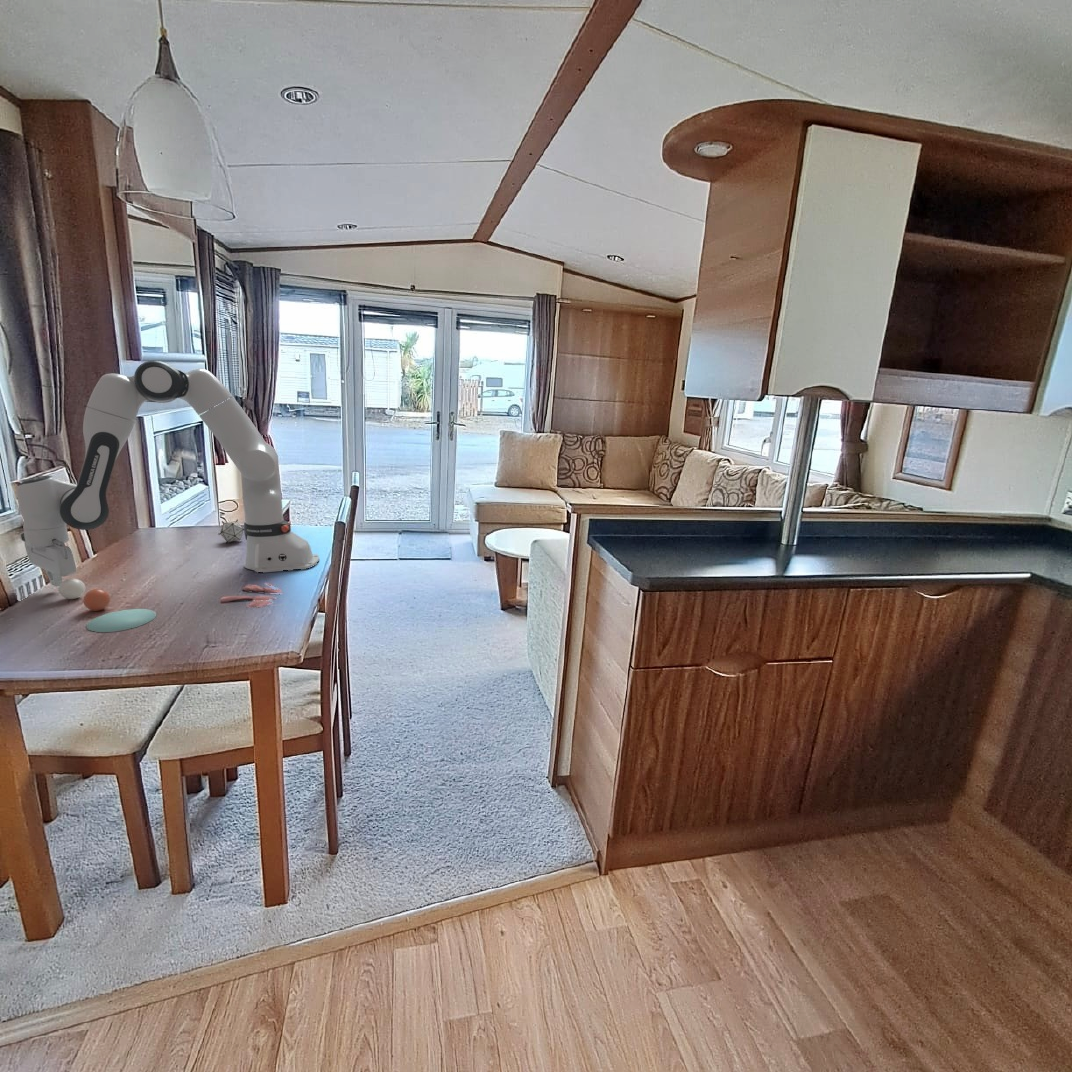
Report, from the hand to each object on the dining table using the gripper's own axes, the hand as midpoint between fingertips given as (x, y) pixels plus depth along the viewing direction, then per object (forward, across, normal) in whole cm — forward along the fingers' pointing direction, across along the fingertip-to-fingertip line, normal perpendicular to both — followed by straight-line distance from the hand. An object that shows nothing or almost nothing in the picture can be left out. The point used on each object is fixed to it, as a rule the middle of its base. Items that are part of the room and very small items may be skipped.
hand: (56, 585), depth 158 cm
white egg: (-1, -10, 0) cm, 10 cm away
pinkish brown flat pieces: (+3, -44, -28) cm, 53 cm away
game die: (+2, +9, -56) cm, 57 cm away
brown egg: (-1, -24, 0) cm, 24 cm away
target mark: (+2, -36, 0) cm, 36 cm away
